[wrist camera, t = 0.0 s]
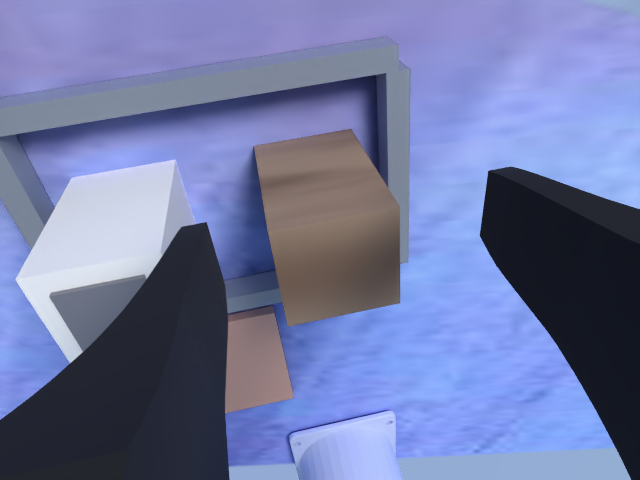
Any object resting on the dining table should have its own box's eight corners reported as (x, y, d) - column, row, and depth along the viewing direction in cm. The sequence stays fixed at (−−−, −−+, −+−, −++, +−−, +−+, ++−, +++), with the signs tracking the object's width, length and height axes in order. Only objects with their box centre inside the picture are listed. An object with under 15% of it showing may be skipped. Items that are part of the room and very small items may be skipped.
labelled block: (201, 240, 23) (197, 349, 17) (110, 258, 23) (73, 375, 17) (175, 159, 20) (159, 255, 15) (71, 177, 20) (13, 283, 14)
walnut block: (356, 211, 24) (400, 303, 18) (270, 227, 23) (287, 326, 18) (350, 128, 21) (399, 206, 15) (253, 145, 21) (267, 231, 15)
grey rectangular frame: (399, 259, 26) (408, 276, 25) (93, 321, 25) (87, 342, 23) (398, 34, 19) (410, 42, 18) (-31, 102, 18) (-50, 116, 16)
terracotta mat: (292, 390, 31) (293, 397, 31) (142, 423, 30) (141, 432, 30) (273, 305, 26) (274, 312, 26) (94, 342, 25) (92, 350, 25)
